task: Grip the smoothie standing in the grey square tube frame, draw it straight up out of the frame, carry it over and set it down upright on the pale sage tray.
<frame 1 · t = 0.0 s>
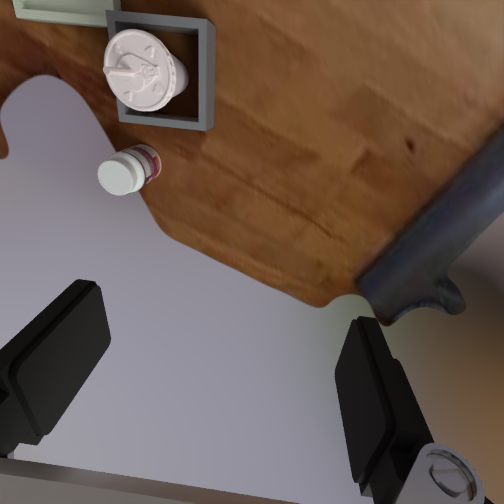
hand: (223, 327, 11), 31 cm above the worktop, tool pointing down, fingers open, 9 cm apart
grey square tube frame: (173, 76, 34), on the worktop
pill bottle: (146, 161, 40), on the worktop
smoothie: (173, 76, 35), resting in grey square tube frame
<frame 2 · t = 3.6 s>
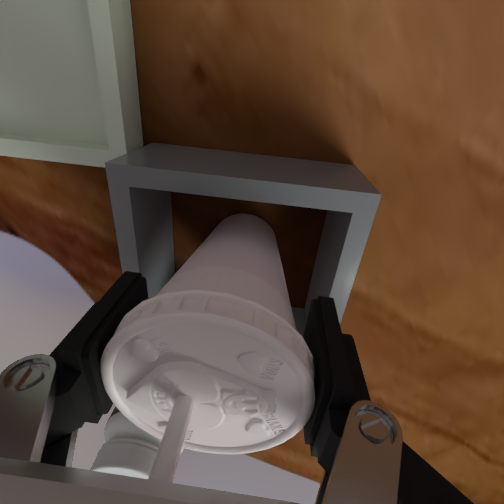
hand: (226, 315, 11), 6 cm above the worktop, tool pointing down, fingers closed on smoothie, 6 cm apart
grey square tube frame: (244, 243, 17), on the worktop
pill bottle: (178, 354, 22), on the worktop
smoothie: (245, 241, 17), resting in grey square tube frame, touching gripper
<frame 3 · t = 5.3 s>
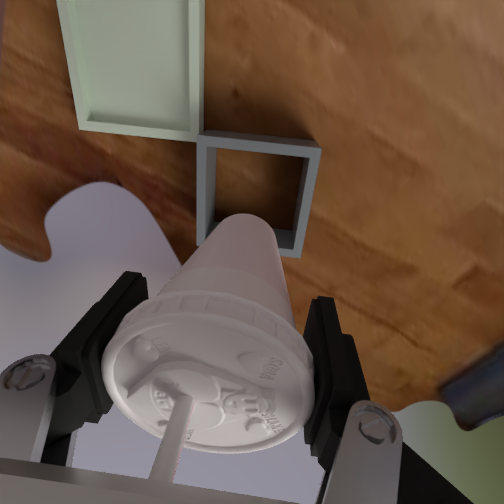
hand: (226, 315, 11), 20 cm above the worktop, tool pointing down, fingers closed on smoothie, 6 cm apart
grey square tube frame: (256, 187, 29), on the worktop
tray: (139, 45, 25), on the worktop
smoothie: (245, 241, 17), point 14 cm above the worktop, touching gripper
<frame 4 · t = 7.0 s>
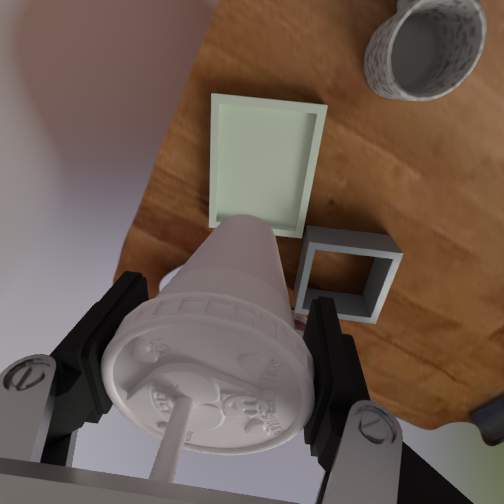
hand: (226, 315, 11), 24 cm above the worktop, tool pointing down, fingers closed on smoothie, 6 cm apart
mug: (401, 35, 26), on the worktop
grey square tube frame: (338, 265, 37), on the worktop
pill bottle: (291, 320, 43), on the worktop
tray: (262, 169, 32), on the worktop
smoothie: (245, 242, 17), point 18 cm above the worktop, touching gripper
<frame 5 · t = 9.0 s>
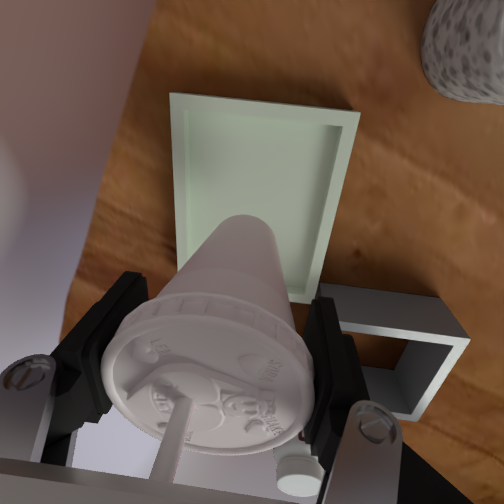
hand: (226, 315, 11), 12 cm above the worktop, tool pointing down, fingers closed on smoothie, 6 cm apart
grey square tube frame: (362, 333, 27), on the worktop
pill bottle: (296, 394, 32), on the worktop
tray: (255, 206, 22), on the worktop
smoothie: (245, 242, 17), point 6 cm above the worktop, touching gripper
when the fingers open (8 cm above the worktop, at t = 10.8 s): smoothie stays where it is, resting on tray.
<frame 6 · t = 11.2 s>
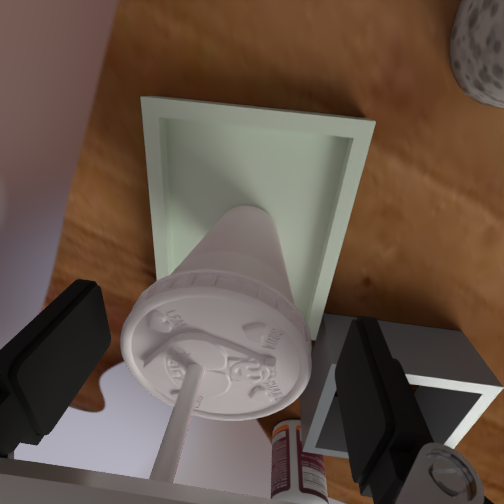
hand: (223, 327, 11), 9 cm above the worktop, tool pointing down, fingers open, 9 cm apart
grey square tube frame: (371, 368, 24), on the worktop
pill bottle: (296, 430, 29), on the worktop
tray: (248, 228, 19), on the worktop
smoothie: (247, 232, 18), point 1 cm above the worktop, touching tray
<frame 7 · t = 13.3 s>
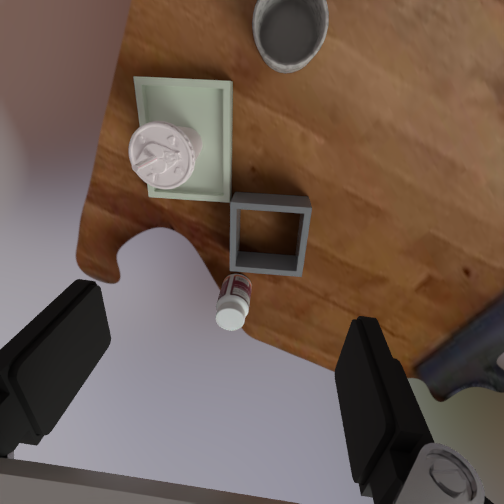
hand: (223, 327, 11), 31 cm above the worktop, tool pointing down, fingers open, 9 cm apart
mug: (285, 18, 31), on the worktop
grey square tube frame: (269, 227, 42), on the worktop
pill bottle: (237, 284, 47), on the worktop
tray: (189, 142, 37), on the worktop
smoothie: (188, 142, 37), point 1 cm above the worktop, touching tray
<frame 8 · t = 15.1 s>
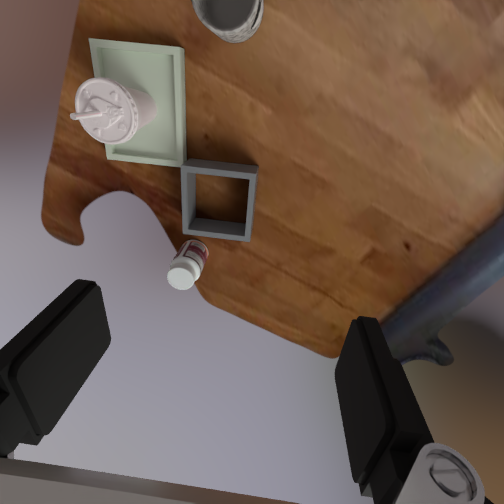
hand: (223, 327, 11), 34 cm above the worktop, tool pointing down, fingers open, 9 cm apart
grey square tube frame: (223, 195, 44), on the worktop
pill bottle: (195, 250, 50), on the worktop
tray: (145, 107, 39), on the worktop
smoothie: (144, 107, 39), point 1 cm above the worktop, touching tray
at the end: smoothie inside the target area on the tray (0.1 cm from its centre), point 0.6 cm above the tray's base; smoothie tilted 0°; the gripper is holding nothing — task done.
